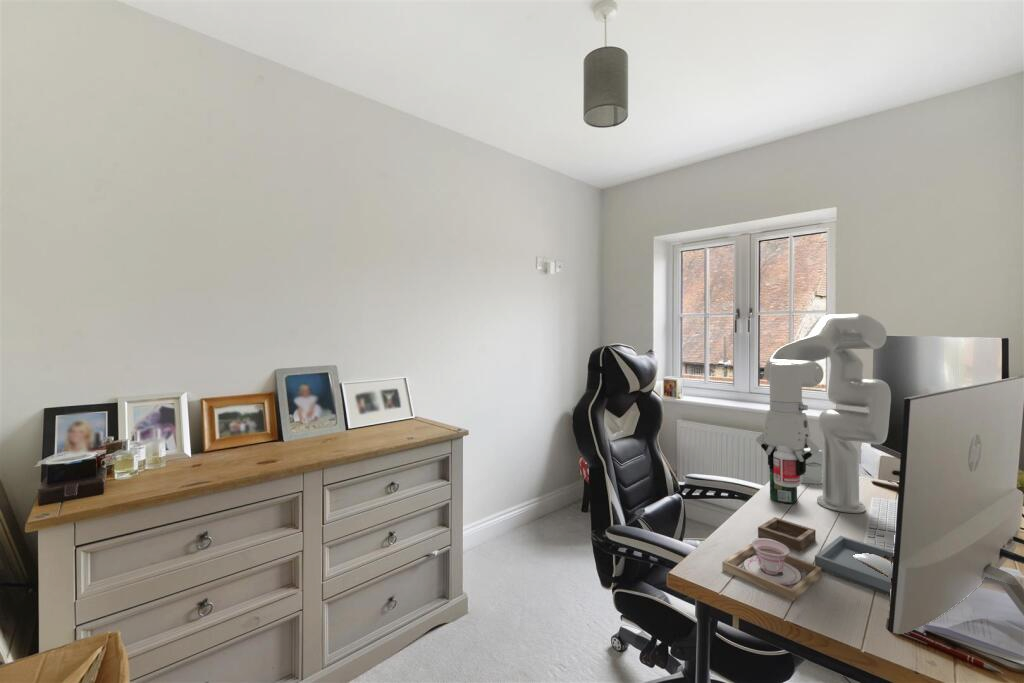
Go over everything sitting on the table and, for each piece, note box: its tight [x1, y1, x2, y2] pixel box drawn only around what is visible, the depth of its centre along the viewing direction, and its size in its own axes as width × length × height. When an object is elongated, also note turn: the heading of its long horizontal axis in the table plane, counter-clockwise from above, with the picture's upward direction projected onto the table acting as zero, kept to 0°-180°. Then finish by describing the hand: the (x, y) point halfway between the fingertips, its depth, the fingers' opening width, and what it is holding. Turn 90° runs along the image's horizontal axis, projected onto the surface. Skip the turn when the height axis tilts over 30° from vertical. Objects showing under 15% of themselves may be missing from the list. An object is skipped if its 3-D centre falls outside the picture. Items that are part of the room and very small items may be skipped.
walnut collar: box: [757, 517, 817, 553], centre depth 120 cm, size 10×10×3 cm
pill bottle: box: [773, 445, 801, 488], centre depth 120 cm, size 6×6×11 cm
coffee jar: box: [769, 449, 798, 504], centre depth 148 cm, size 10×8×19 cm
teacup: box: [743, 537, 802, 586], centre depth 105 cm, size 12×12×6 cm
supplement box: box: [800, 448, 823, 485], centre depth 165 cm, size 7×7×13 cm
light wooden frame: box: [721, 543, 823, 602], centre depth 104 cm, size 16×16×2 cm
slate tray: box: [814, 535, 894, 597], centre depth 104 cm, size 17×17×3 cm
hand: (786, 470), depth 120 cm, fingers closed on pill bottle, 6 cm apart
